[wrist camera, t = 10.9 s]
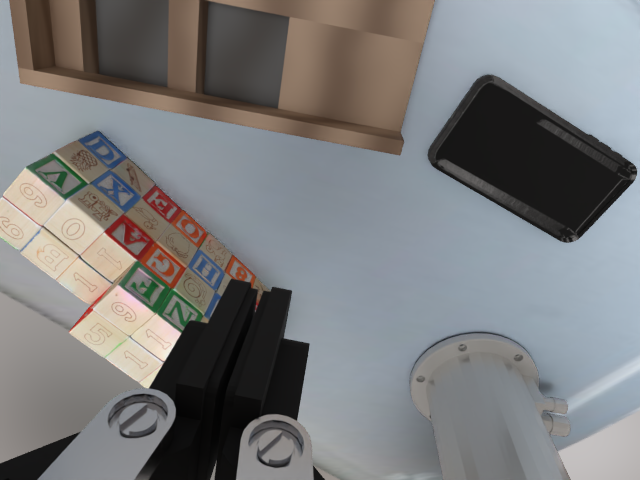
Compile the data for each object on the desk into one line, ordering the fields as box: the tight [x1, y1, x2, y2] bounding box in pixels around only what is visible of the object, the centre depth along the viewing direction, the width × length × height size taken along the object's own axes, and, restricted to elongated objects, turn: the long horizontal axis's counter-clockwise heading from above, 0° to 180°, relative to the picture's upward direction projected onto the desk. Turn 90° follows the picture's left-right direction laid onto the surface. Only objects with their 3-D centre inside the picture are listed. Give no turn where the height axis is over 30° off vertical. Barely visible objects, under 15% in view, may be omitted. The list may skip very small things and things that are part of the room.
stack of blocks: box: [0, 131, 271, 388], centre depth 35 cm, size 21×6×12 cm, turn 41°
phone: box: [428, 75, 637, 243], centre depth 35 cm, size 8×1×15 cm
